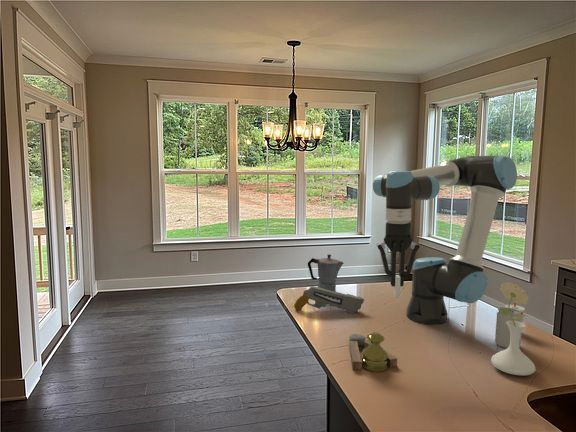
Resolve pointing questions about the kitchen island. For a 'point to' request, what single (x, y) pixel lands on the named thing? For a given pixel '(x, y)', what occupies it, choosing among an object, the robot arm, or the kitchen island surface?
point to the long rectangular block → (391, 358)
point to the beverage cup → (516, 307)
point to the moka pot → (326, 272)
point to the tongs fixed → (356, 350)
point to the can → (505, 327)
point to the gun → (329, 299)
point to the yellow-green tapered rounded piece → (375, 354)
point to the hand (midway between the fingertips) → (396, 296)
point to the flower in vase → (513, 337)
